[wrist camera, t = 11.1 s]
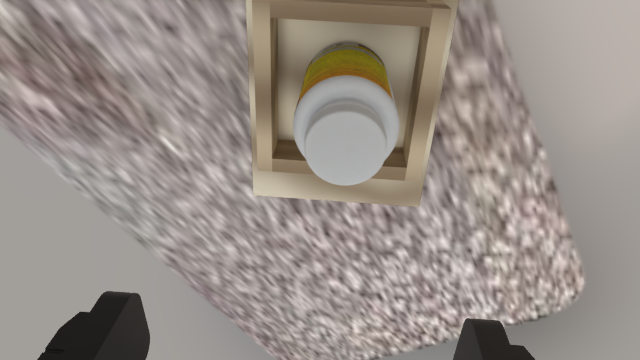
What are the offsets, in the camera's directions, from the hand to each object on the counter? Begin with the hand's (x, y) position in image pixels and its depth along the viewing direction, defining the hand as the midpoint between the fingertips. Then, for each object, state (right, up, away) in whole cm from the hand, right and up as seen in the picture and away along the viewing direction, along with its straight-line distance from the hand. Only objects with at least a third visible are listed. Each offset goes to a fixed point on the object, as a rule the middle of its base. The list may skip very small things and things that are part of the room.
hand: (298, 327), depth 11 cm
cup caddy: (+2, +11, +19) cm, 22 cm away
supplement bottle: (+2, +10, +19) cm, 21 cm away
